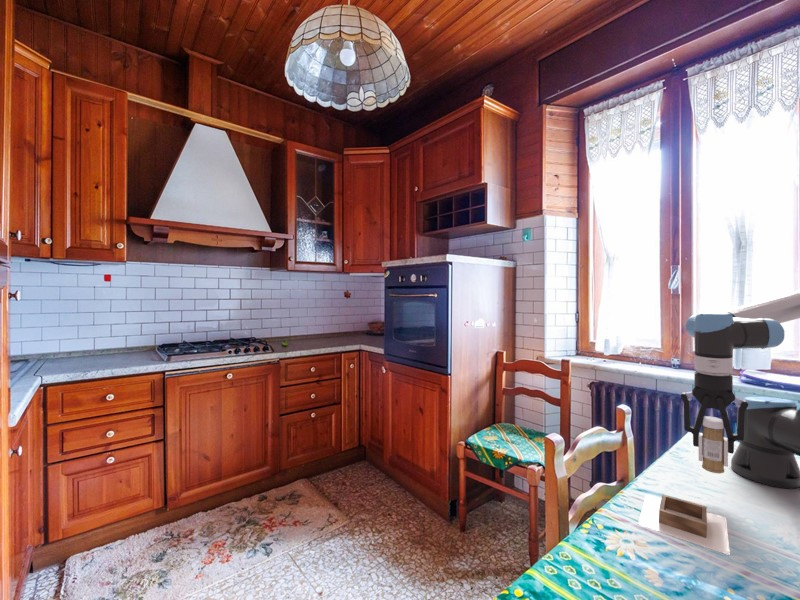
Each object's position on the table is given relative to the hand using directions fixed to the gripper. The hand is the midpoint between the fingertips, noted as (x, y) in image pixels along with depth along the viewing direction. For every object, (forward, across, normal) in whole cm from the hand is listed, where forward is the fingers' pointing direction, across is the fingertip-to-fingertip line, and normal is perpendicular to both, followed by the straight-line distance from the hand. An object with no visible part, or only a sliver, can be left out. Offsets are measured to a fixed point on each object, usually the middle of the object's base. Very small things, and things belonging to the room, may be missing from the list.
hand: (712, 461), depth 97 cm
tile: (+10, -6, -17) cm, 20 cm away
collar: (+9, -6, -16) cm, 20 cm away
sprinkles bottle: (+2, 0, 0) cm, 2 cm away
